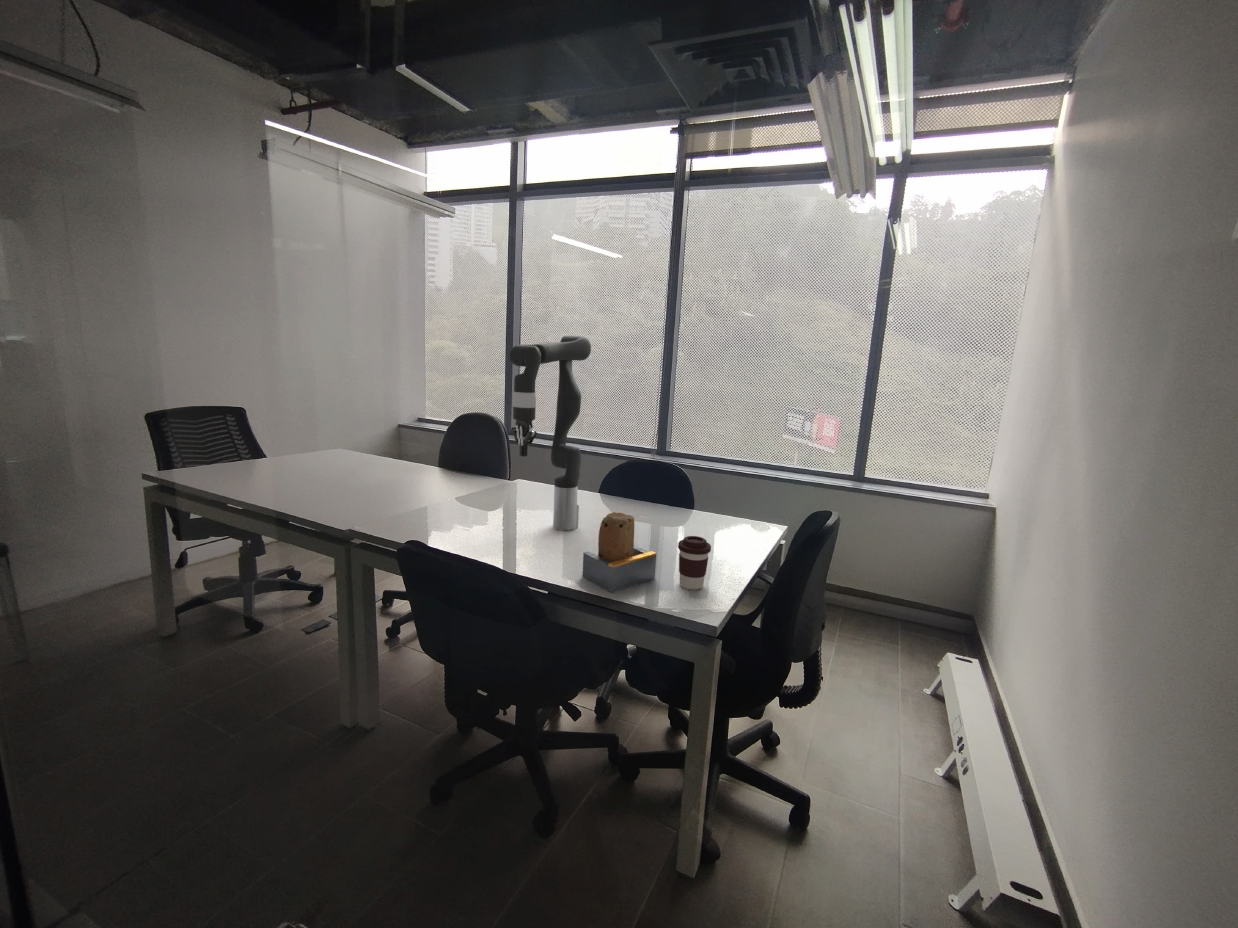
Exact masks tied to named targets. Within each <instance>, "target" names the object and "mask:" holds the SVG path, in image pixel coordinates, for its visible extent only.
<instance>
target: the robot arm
mask: <svg viewBox="0 0 1238 928" xmlns="http://www.w3.org/2000/svg"><path fill="white" fill-rule="evenodd" d="M591 344H592V343H591V341H590V339H589V338H587V337H586V336H582V335H563V336H562V337H561V339H560V341H558V342H557V341H555V342H554V341H551V342H549V341H548V342H539V343H534V344H516V345H514V346H512V348H511V349H510V350H509V352H508V357H509V361H510V363H511V364H512V365H514V366H516V367H523V368H524V370H523V372H522V373H518V374H516V375H515V376H514V380H513V381H514V382H513V397H512V419H513V420H515V422H514V423H515V425H514V426H512V427H511V428H510V429H511V432H512V434H513V438H514V440H515V442H516V443H517V444H518V446H519V456H520V457H527V456H528V447H529V446H530V445H532V444H533V442H534V439H535V438H536V436H537V434H538V432H537V431H536V430H534V429H533V428H534V426H533V421H534V420H536V407H537V406H536V405H537V404H536V401H537V400H536V398H537V397H536V380H537V377H538V372H539V370H540V369H539V368H540V366H541V365H543V364H549V363H553V362H558V367H559V368H558V370H559V372H558V389H557V398H556V411H555V412H556V414H555V415H556V416H555V426H554V431H553V432H554V434H553V440H552V445H551V450H550V460H551V461H550V462H551V465H552V466H553V467H554V468H559V469H563V470H565V473H564V475H561V476H556V477H555V479H554V490H553V516H552V519H553V520H552V527H553V529H555V530H557V531H573V530H575V529H576V528H579V516H580V514H579V513H580V512H579V511H580V504H579V503H578V491H579V490H578V488H579V486H578V485H579V480H580V473H581V466H582V465H581V464H582V452H581V450H580V448H579V447H577V446H573V445H569V444H568V445H567V438H568V433H569V431H570V429H571V427H572V426H573V425H574V424H575V422H576V421H577V419H578V418H579V415H580V413H581V405H582V393H581V391H580V388H579V385H578V384H577V381H576V379H575V377H574V373H573V361H577V362H578V361H586V359H588V358H589V357H590V355H591V352H592V345H591Z"/></svg>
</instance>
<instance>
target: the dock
mask: <svg viewBox="0 0 1238 928" xmlns="http://www.w3.org/2000/svg"><path fill="white" fill-rule="evenodd" d="M582 560H583V561H582V576H581V577H582V578H584V579H585V580H587V581H588V582H591V583H593V584H594V585H596V586H599V587H600V588H602V589H603V590H605V591H607V592H609V593H610V592H611V594H613V593H616V592H619V591H623V590H625V589H628V588H632V587H634V586H637V585H640V584H644V583H646V582H650V581H652V580H655V579H656V564H657V552H654V551H652V550H651V551H648V550H646V549H643V548H641V547H639V546H636V545H634V548H633V557H629V558H626V559H622V560H619V561H615V562H609V561H607V560H605V559H603V558H601V557H599V556H598V554H594V553H592V552H590V551H586V552H585V551H584V552H583V557H582ZM615 591H616V592H615Z"/></svg>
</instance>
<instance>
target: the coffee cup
mask: <svg viewBox="0 0 1238 928" xmlns="http://www.w3.org/2000/svg"><path fill="white" fill-rule="evenodd" d="M677 548H678V550H679V554H678V573H679V585H680V586H681V587H682V588H684V589H686V590H693V591H695V590H696V591H697V590H700V589H702V588H703V586H704V582H705V576H706V574H707V568H708V563H709V562H708V561H709V553H711V551H712V550H711V549H712V545H711V543H709V542H707V539H705V538H704V537H701V536H697V535H689V536H685V537H684V538H683V539H681V540H679V541H678V545H677Z"/></svg>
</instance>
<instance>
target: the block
mask: <svg viewBox="0 0 1238 928" xmlns="http://www.w3.org/2000/svg"><path fill="white" fill-rule="evenodd" d="M597 538H598V539H597V540H598V543H597V545H598V546H597V547H598V553H597V556H599V557H601V558H603V559H605V560H607V561H609V562H615V561H619V560H622V559H626V558H629V557H633V548H634V546H635V545H634V544H635V517H634V516H632V515H631V514H625V513H623V512H611V513H608V514H606V516H604V517H603V519H602V520H601V522H600V526H599V530H598V537H597Z"/></svg>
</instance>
